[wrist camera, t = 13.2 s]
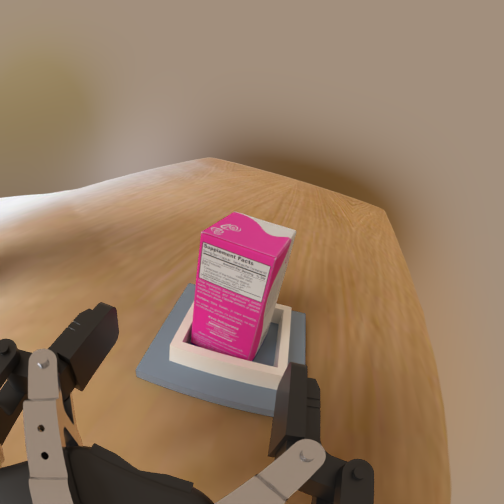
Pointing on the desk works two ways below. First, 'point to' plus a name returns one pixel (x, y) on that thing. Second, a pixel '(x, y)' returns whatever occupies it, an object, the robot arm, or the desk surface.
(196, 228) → the desk surface
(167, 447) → the desk surface
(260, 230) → the supplement box
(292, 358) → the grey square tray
